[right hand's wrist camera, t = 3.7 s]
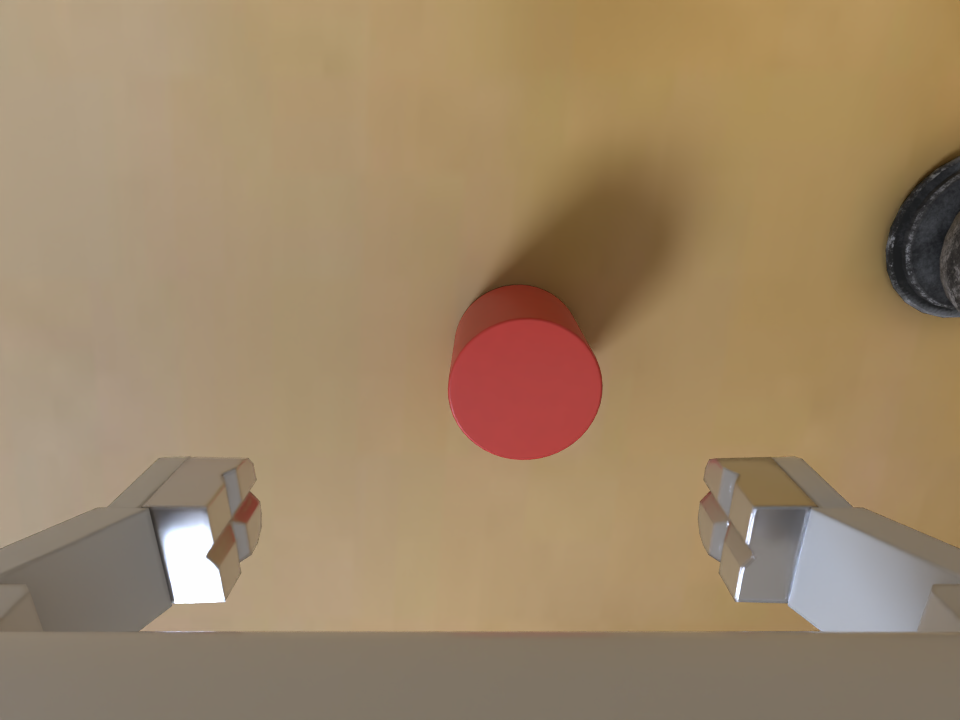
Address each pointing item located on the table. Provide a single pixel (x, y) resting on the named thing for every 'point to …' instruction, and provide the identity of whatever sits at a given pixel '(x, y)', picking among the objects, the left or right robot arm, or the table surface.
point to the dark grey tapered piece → (928, 244)
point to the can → (522, 374)
